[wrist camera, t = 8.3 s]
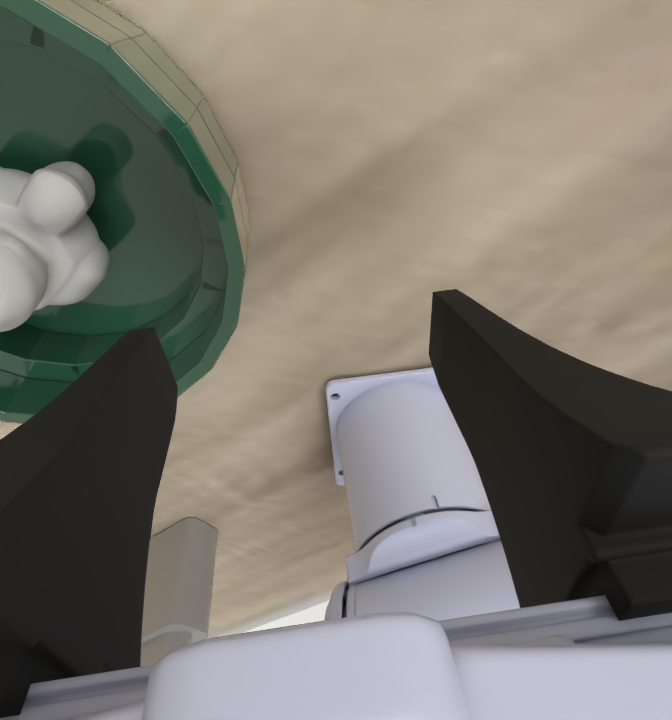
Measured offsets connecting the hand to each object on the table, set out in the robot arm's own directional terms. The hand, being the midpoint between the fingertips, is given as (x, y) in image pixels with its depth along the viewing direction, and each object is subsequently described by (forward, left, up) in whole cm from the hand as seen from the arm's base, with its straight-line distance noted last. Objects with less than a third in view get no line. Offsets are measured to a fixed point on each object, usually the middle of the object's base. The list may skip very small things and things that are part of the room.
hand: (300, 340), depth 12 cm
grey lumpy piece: (+1, +9, -10) cm, 13 cm away
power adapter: (-24, +11, -10) cm, 28 cm away
